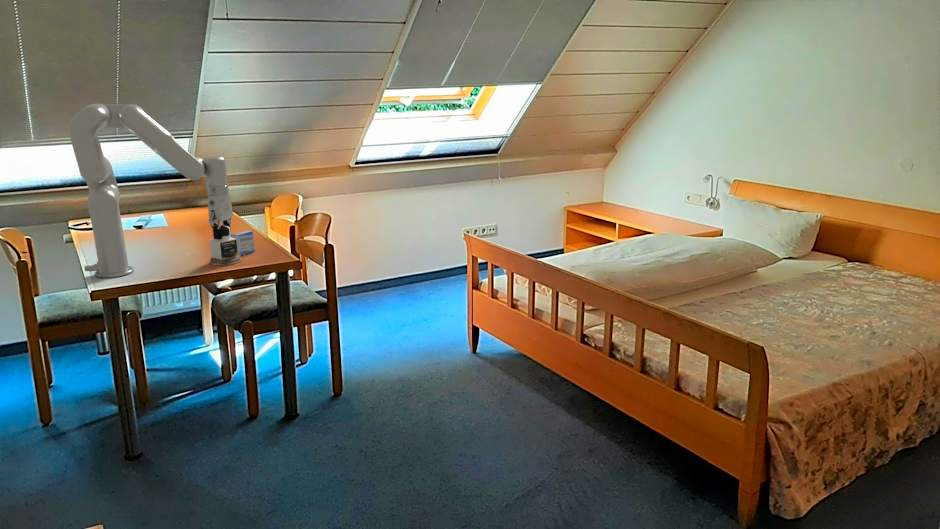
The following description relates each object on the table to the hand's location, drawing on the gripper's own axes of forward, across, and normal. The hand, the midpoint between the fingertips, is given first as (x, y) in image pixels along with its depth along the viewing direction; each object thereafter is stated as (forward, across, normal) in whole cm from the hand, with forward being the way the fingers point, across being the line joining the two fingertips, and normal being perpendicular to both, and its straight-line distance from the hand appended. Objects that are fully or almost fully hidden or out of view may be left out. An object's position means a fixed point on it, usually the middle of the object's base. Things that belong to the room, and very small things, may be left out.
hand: (222, 236), depth 265 cm
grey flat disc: (+10, 0, 0) cm, 10 cm away
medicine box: (+10, +13, -1) cm, 16 cm away
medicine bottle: (+8, 0, 0) cm, 8 cm away
